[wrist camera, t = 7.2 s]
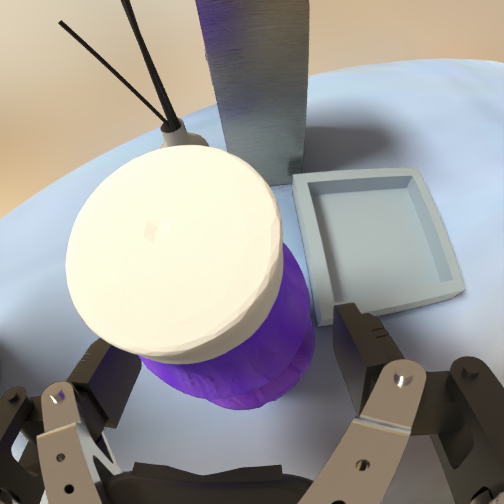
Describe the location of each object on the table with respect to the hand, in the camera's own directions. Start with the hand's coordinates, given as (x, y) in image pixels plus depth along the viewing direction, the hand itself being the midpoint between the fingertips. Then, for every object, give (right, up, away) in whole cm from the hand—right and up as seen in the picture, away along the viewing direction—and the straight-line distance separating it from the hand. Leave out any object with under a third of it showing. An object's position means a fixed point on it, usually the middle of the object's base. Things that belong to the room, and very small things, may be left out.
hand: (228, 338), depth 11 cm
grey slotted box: (+2, +13, +17) cm, 22 cm away
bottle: (+1, -4, +10) cm, 11 cm away
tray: (+11, +4, +12) cm, 17 cm away
